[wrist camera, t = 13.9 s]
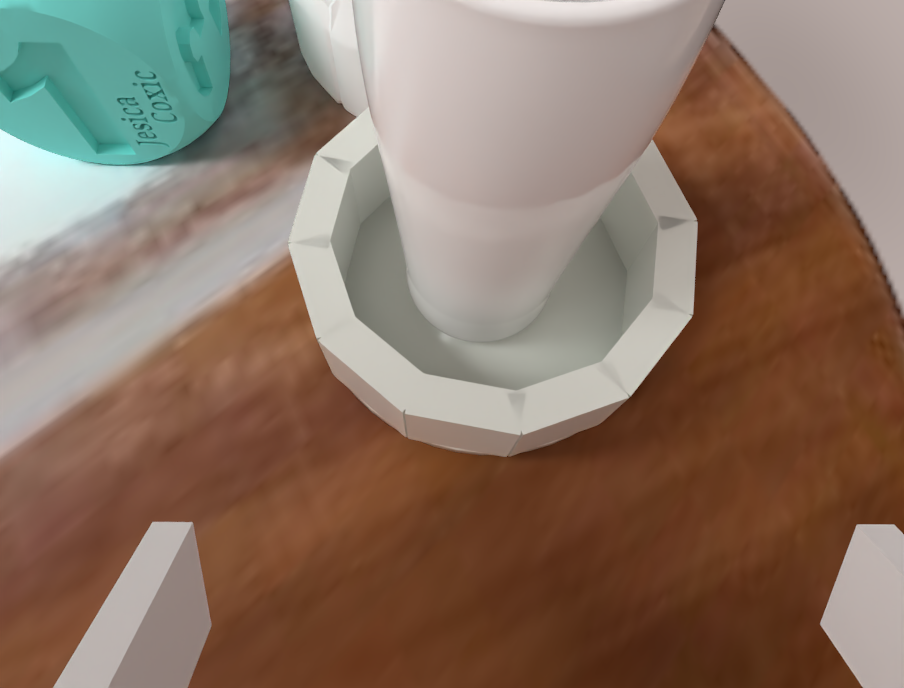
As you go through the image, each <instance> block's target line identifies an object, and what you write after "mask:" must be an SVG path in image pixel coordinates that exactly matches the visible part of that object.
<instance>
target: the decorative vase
mask: <svg viewBox="0 0 904 688" xmlns="http://www.w3.org/2000/svg"><path fill="white" fill-rule="evenodd" d="M289 4H290V8H291V13H292V17H293V21H294V25H295V29H296V33H297V38H298V42H299V46H300V50H301V53H302V55H303V57H304V59H305V61H306V63H307V65H308V67H309V69H310V71H311V73H312V75H313V77H314V78H315V79H316V80H317V81H318V82H319V83H320V84H321V85H322V87H323V88H324V89H325V90H326V91H327V92H328V93H329V94H330V95H331V96H332V98H333V99H334V100H335V101H336V102H337V103H342V104H343V106H344V108H345V109H346V110H347V111H348V112H350V113H351V114H352V115H354V116H356V117H358V116H359V115H360V114H361V113H362V112H364V111H365V110H366V109H367V108H368V107H369V106H368V101H367V97H366V92H365V87H364V82H363V77H362V72H361V66H360V60H359V54H358V48H357V41H356V34H355V26H354V18H353V9H352V1H351V0H289Z"/></svg>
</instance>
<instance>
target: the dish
mask: <svg viewBox="0 0 904 688" xmlns="http://www.w3.org/2000/svg"><path fill="white" fill-rule="evenodd" d="M696 221H697V218H696V216H695V215H694V213H693V211H692V209H691V208H690V206H689V204H688V202H687V200H686V199H685V197H684V195H683V193H682V191H681V190H680V188H679V186H678V184H677V182H676V181H675V179H674V177H673V175H672V173H671V172H670V170H669V168H668V166H667V165H666V163H665V161H664V159H663V157H662V156H661V154H660V152H659V150H658V148H657V147H656V145H655V143H654V141H653V139H652V140H651V142H650V144H649V145H648V147H647V148H646V150H645V152H644V153H643V155H642V156H641V158H640V159H639V161H638V162H637V164H636V165H635V167H634V168H633V170H632V171H631V173H630V174H629V176H628V177H627V179H626V180H625V182H624V183H623V185H622V186H621V188H620V189H619V191H618V192H617V194H616V195H615V196H614V198H613V199H612V201H611V202H610V204H609V205H608V207H607V208H606V210H605V211H604V213H603V214H602V216H601V217H600V219H599V220H598V221H597V223H596V224H595V226H594V227H593V229H592V230H591V232H590V233H589V235H588V236H587V238H586V239H585V241H584V242H583V244H582V245H581V247H580V248H579V250H578V251H577V253H576V254H575V256H574V257H573V259H572V260H571V262H570V263H569V265H568V266H567V268H566V269H565V271H564V272H563V274H562V275H561V277H560V278H559V280H558V281H557V283H556V285H555V286H554V288H553V290H552V292H551V295H550V297H549V299H548V301H547V303H546V305H545V307H544V308H543V310H542V312H541V313H540V314H539V316H538V317H537V318H536V319H535V320H534V321H533V322H532V323H531V324H530V325H529V326H528V327H526V328H525V329H524V330H522V331H521V332H519V333H517V334H515V335H513V336H511V337H508V338H506V339H502V340H498V341H494V342H469V341H464V340H460V339H456V338H454V337H451V336H449V335H447V334H445V333H443V332H441V331H439V330H438V329H436V328H435V327H434V326H432V325H431V324H430V323H429V322H428V321H427V320H426V319H425V318H424V317H423V316H422V315H421V313H420V312H419V311H418V309H417V307H416V306H415V304H414V302H413V300H412V298H411V295H410V292H409V289H408V285H407V278H406V266H405V258H404V253H403V249H402V244H401V240H400V235H399V231H398V227H397V222H396V218H395V214H394V210H393V205H392V201H391V197H390V193H389V189H388V185H387V181H386V177H385V173H384V169H383V164H382V160H381V156H380V152H379V148H378V144H377V140H376V136H375V132H374V127H373V123H372V119H371V115H370V110H369V107H368V108H367V109H366V110H365V111H364V112H362V113H361V114H360V115H359V116H358V117H357V118H356V119H354V120H353V121H352V122H351V123H350V124H349V125H348V126H346V127H345V128H344V129H343V130H342V131H341V132H340V133H338V134H337V135H336V136H335V137H334V138H333V139H332V140H330V141H329V142H328V143H327V144H326V145H325V146H324V147H322V148H321V149H320V150H319V151H318V152H317V153H316V155H315V156H314V159H313V162H312V165H311V169H310V172H309V175H308V178H307V182H306V185H305V188H304V191H303V194H302V198H301V201H300V204H299V207H298V210H297V214H296V217H295V220H294V223H293V227H292V230H291V233H290V236H289V239H288V247H289V250H290V253H291V257H292V260H293V263H294V267H295V270H296V273H297V276H298V280H299V283H300V286H301V289H302V293H303V296H304V299H305V303H306V306H307V309H308V312H309V316H310V319H311V322H312V326H313V329H314V332H315V335H316V339H317V341H318V343H319V345H320V347H321V349H322V352H323V354H324V356H325V358H326V360H327V362H328V365H329V367H330V369H331V371H332V373H333V375H334V376H335V377H336V378H337V379H338V380H340V381H341V382H342V383H343V384H344V385H345V386H347V387H348V388H349V389H350V390H351V391H352V392H353V394H354V395H355V396H356V397H357V398H358V399H359V400H360V401H361V402H362V403H363V404H364V405H365V406H366V407H367V408H368V409H369V410H370V411H371V412H372V413H373V414H375V415H376V416H377V417H379V418H380V419H381V420H383V421H384V422H385V423H387V424H388V425H389V426H391V427H393V428H395V429H396V430H398V431H399V432H400V433H401V434H402V435H403V436H405V437H407V436H408V439H412V440H417V441H420V442H423V443H425V444H428V445H430V446H433V447H437V448H441V449H445V450H449V451H453V452H457V453H465V454H474V455H497V456H503V457H507V455H508V457H510V456H513V455H516V454H518V453H522V452H528V451H532V450H535V449H539V448H542V447H546V446H549V445H552V444H554V443H556V442H559V441H561V440H563V439H566V438H568V437H570V436H572V435H574V434H575V433H577V432H580V431H583V430H586V429H588V428H591V427H594V426H597V425H599V424H600V423H602V422H603V421H604V420H605V419H606V418H607V417H608V416H610V415H611V414H612V413H613V412H614V411H615V410H616V409H617V408H618V407H620V406H621V405H622V404H623V403H624V402H625V401H626V400H627V399H628V398H629V397H631V395H632V394H633V393H634V392H635V390H636V389H637V388H638V386H639V385H640V384H641V383H642V381H643V380H644V379H645V377H646V376H647V375H648V373H649V372H650V371H651V370H652V368H653V367H654V366H655V364H656V363H657V362H658V361H659V359H660V358H661V357H662V355H663V354H664V353H665V351H666V350H667V349H668V348H669V346H670V345H671V344H672V342H673V341H674V340H675V339H676V337H677V336H678V335H679V333H680V332H681V331H682V329H683V328H684V327H685V326H686V324H687V323H688V322H689V320H690V319H691V318H692V315H693V309H694V289H695V269H696V249H697V229H698V222H696Z"/></svg>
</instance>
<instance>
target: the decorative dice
mask: <svg viewBox="0 0 904 688" xmlns="http://www.w3.org/2000/svg"><path fill="white" fill-rule="evenodd" d="M229 80H230V38H229V26H228V17H227V10H226V3H225V0H0V129H1V130H3V131H5V132H7V133H9V134H10V135H12V136H14V137H16V138H18V139H20V140H22V141H24V142H27V143H29V144H31V145H34V146H36V147H39V148H41V149H44V150H46V151H49V152H52V153H55V154H58V155H62V156H65V157H69V158H73V159H77V160H82V161H87V162H93V163H101V164H115V165H126V164H138V163H144V162H148V161H152V160H155V159H158V158H161V157H163V156H166V155H169V154H171V153H174V152H176V151H178V150H180V149H182V148H184V147H185V146H187V145H189V144H190V143H192V142H193V141H194V140H196V139H197V138H198V137H200V136H201V135H202V134H203V133H204V132H205V131H206V130H207V129H208V128H209V127H210V126H211V125H212V124H213V123H214V122H215V121H216V120H217V119H218V117H219V116H220V115H221V113H222V111H223V109H224V106H225V103H226V99H227V95H228V89H229Z"/></svg>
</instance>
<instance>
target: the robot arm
mask: <svg viewBox="0 0 904 688" xmlns="http://www.w3.org/2000/svg"><path fill="white" fill-rule="evenodd" d="M820 625H821V627H822V628H823V629H824V631H825V632H826V634H827V635H828V637H829V638H830V640H831V641H832V643H833V644H834V646H835V647H836V649H837V650H838V652H839V653H840V655H841V656H842V658H843V659H844V660H845V662H846V663H847V665H848V666H849V668H850V669H851V671H852V672H853V674H854V675H855V677H856V678H857V680H858V681H859V683H860V684H861V686H862V687H863V688H904V534H903V533H902V532H901V531H900V530H899V529H898V528H897V527H896V526H895V525H887V524H857V525H856V528H855V531H854V533H853V536H852V539H851V542H850V544H849V547H848V550H847V552H846V555H845V558H844V560H843V563H842V566H841V568H840V571H839V574H838V577H837V579H836V582H835V585H834V587H833V590H832V593H831V595H830V598H829V601H828V604H827V606H826V609H825V612H824V614H823V617H822V620H821V622H820ZM211 626H212V625H211V619H210V614H209V608H208V603H207V597H206V592H205V586H204V581H203V575H202V570H201V564H200V559H199V553H198V548H197V542H196V537H195V531H194V526H193V522H152V524H151V525H150V527H149V529H148V530H147V532H146V534H145V535H144V537H143V539H142V540H141V542H140V544H139V545H138V547H137V549H136V550H135V552H134V554H133V555H132V557H131V559H130V560H129V562H128V564H127V565H126V567H125V569H124V570H123V572H122V574H121V575H120V577H119V579H118V580H117V582H116V584H115V585H114V587H113V589H112V590H111V592H110V594H109V595H108V597H107V599H106V600H105V602H104V604H103V605H102V607H101V609H100V610H99V612H98V614H97V615H96V617H95V619H94V620H93V622H92V624H91V625H90V627H89V629H88V630H87V632H86V634H85V635H84V637H83V639H82V640H81V642H80V644H79V645H78V647H77V649H76V650H75V652H74V654H73V655H72V657H71V659H70V660H69V662H68V664H67V665H66V667H65V669H64V670H63V672H62V674H61V675H60V677H59V679H58V680H57V682H56V684H55V685H54V687H53V688H188V685H189V682H190V680H191V677H192V675H193V672H194V670H195V667H196V664H197V662H198V659H199V657H200V654H201V651H202V649H203V646H204V644H205V641H206V639H207V636H208V633H209V631H210V628H211Z"/></svg>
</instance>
